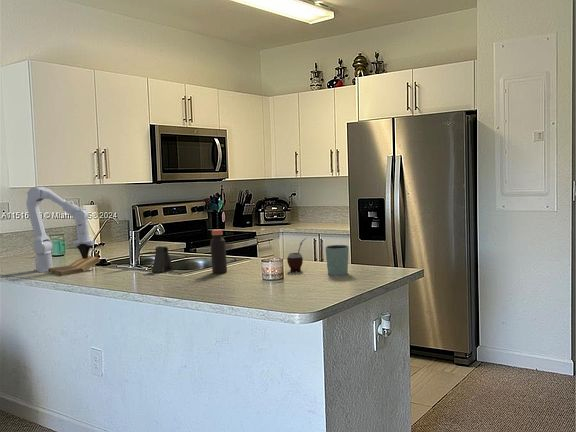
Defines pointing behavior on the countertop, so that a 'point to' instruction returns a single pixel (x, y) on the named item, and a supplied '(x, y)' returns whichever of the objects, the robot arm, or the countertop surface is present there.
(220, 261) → the bottle
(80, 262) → the oak plank
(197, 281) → the countertop surface
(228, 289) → the countertop surface
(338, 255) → the grey-green cup
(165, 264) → the door stopper
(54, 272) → the walnut plank
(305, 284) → the countertop surface
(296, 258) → the mate gourd
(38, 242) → the robot arm
